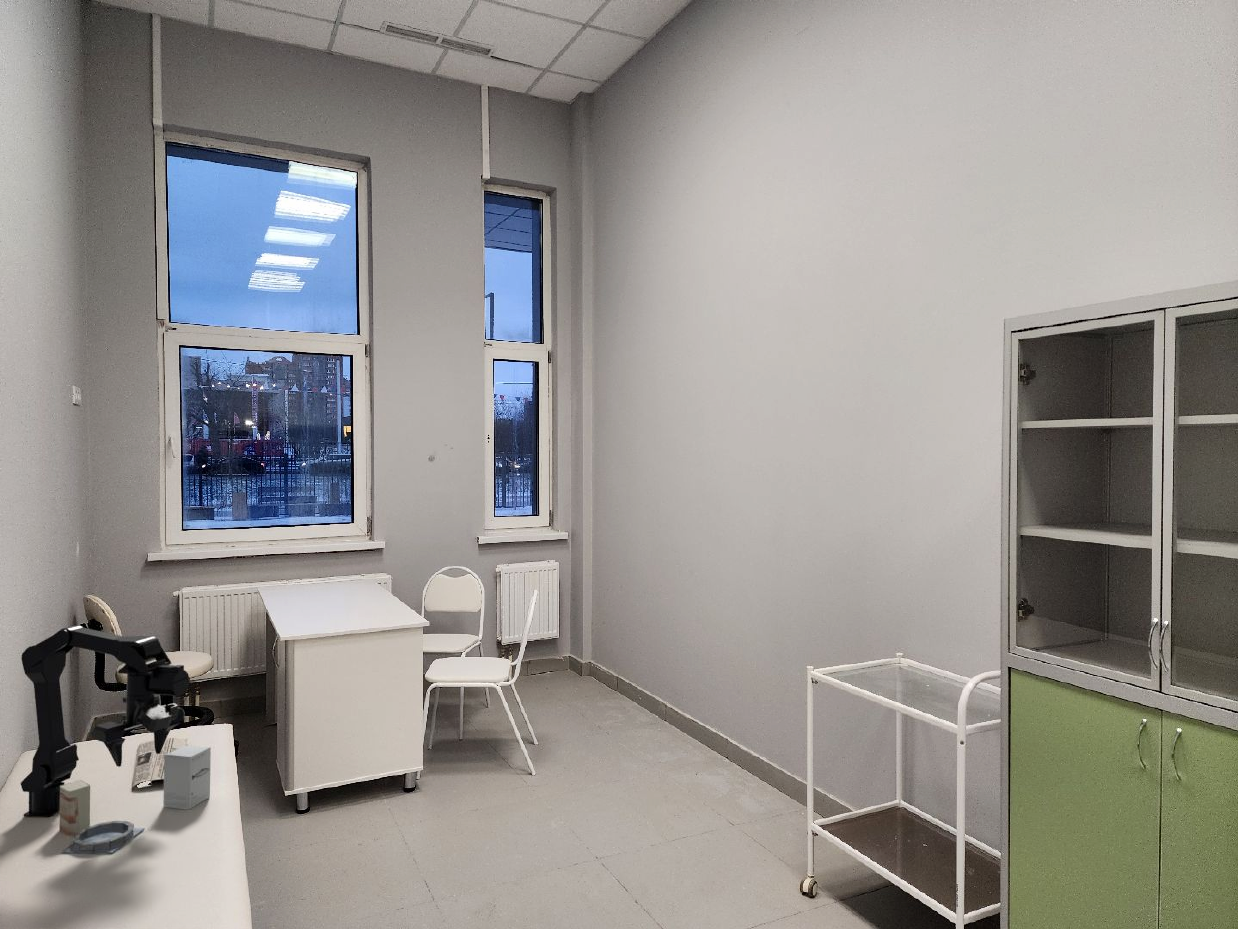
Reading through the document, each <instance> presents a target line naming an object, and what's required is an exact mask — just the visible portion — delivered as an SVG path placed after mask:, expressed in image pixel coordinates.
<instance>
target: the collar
mask: <svg viewBox="0 0 1238 929" xmlns="http://www.w3.org/2000/svg"><path fill="white" fill-rule="evenodd" d="M145 829H146V828H145V827H135V824H134V823H132V822H130V821H127V820H112V821H106V822H101V823H96V824H93V825H90V827H88V828H85V829H83V830H81V831H80V832H78V833H76V834H73V839H72V843H70V844H69V845H68V846H66V847H65V848H63V849H62V850H60V854H91V855H92V854H95V855H96V854H98V855H99V854H100V855H101V854H103V855H104V854H105V855H110V854H111V855H113V854H114V853H116V852H117V851H118V850H121V848H122V847H124V846H125V845H126V844H128V843H129V842H131V840H133V839H134V838H136V837H137V836H138V835H140V834H141V833H142V832H144V831H145Z"/></svg>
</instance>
